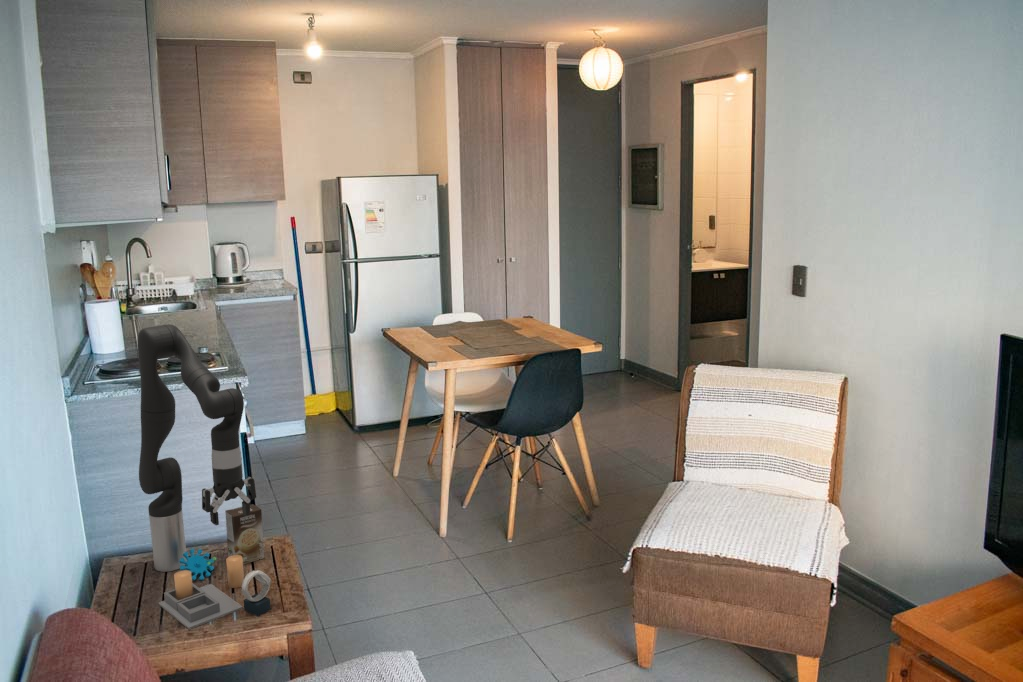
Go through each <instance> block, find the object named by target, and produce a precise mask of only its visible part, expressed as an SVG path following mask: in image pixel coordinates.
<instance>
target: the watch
mask: <svg viewBox="0 0 1023 682" xmlns="http://www.w3.org/2000/svg"><path fill="white" fill-rule="evenodd" d="M253 578H255V579H256V580H257V581H258V582H259V583H260V584H261V585H262V587H261V590H260V591H259V592H258V593H255V594H252V595H251V593H250V591H249V590H248V587H249V583H250V581H251V580H252V579H253ZM271 582H272V579H271V577H270V576H269V575H268V574H266V573H265V572H263V571H262V570H260V569H256V570H251V571H250V572H248V573H247V574H246V575H244V580H243V582H242V586H241V587H240V588H241V593H242V595H243V596H244V598H245V599H243V600H242V601H243V610H244V612H247V613H249V614H251V615H254V616H257V617H259V616H261V615H263V614H265V613H266V612H269V611H270V610H271V609H272V608H271V599H270V598H269V597H266V595H267V594H268V592H269V591H270V587H271Z"/></svg>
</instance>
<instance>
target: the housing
mask: <svg viewBox="0 0 1023 682" xmlns="http://www.w3.org/2000/svg"><path fill="white" fill-rule="evenodd" d="M192 576H193V575H192V574H191V571H189V570H178V571H177V572H175V573H174V575H173V578H174V588H173V589H170V590H168V591H165V592H163V594H164V600H162V601H160V602H158V606H160V607H161V608H162V609H163V610H165V611H166V612H167V613H168V614H169V615H171V616H172V617H173V618H174V619H176V620H177V621H178V622H179V623H180V624H181V625H183V626H184V627H185V628H186V629H188V631H189V630H192V629H194V628H197V627H200V626H202V625H204V624H208V623H210V622H212V621H214V620H218V619H221V618H222V617H225V616H228V615H230V614H232V613H236V612H238V611H241V610H242V609H243V610H244V605H243V606H242V605H241V604H240V603H239V602H237V601H236V600H234V599H233V598H231V597H230V595H227V594H226V593H224V592H223V591H222V590H220V588H218V587H217V586H215V585H213V584H212V583H210V584H209V583H208V584H205V585H204V586H200V587H199V586H197V585H196V584H194V583H193V580H192Z"/></svg>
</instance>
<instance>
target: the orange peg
mask: <svg viewBox="0 0 1023 682" xmlns="http://www.w3.org/2000/svg"><path fill="white" fill-rule="evenodd" d="M225 561H226V571H227V584H228V585H227V586H228V588H230V587H231V589H236V588H241V587H242V582H243V580H244V578H245V574H244V564H243V559H242V556H241V555H233V556H229V557H228V556H227V558H225Z"/></svg>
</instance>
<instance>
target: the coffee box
mask: <svg viewBox="0 0 1023 682" xmlns="http://www.w3.org/2000/svg"><path fill="white" fill-rule="evenodd" d="M225 527H226V540H227V558H228V557H229V556H233V555H241V556H242V559H243V565H245V564H246V565H247V564H249V563H252V562H256V561H260V560H262V559H265V550H264V549H265V547H264V534H263V533H264V531H263V516H262V509H261V508H260V507H259V506H257V505H255V504H254V503H253V504H252V503H251V504H250V513H249V515H248V516H244V515H243V513H242V506H240V507H235V508H232V509H227V510H225ZM259 559H260V560H259Z"/></svg>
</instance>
